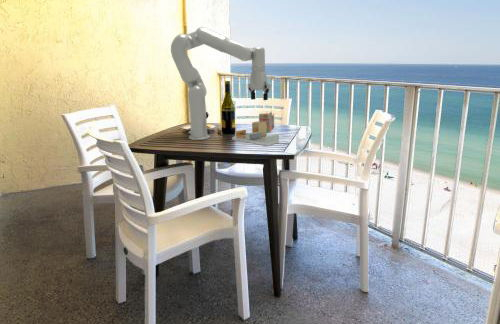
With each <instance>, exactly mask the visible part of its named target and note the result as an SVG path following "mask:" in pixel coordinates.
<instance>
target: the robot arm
mask: <svg viewBox="0 0 500 324" xmlns="http://www.w3.org/2000/svg"><path fill="white" fill-rule="evenodd" d="M170 45H171V46H170V53H171V57H172V59H173V62H174V65H175V67H176V69H177V71H178V73H179V75H180V79H181V80H182V81H183V82H184V83H185V84H186V85H187V87H188V91H187V92H188V93H187V97H188V107H189V108H188V109H189V121H190V130H189V131H188V132H187V133H188V134H190V135H189V136H188V140H192V141H201V140H202V141H203V140H208V139H210V138H211V135H209V134H208V127H207V126H208V123H207V122H208V121H207V106H206V95H207V93H208V92H207V88H206V85H205V84H204V83H205V82H204V80H203V79H202V77H201V74H200V73H199V70H198V69H197V68H195V67H194V66H193V64H192V62H191V59H190V57H189V55H188V53H187V51H189V50H192V49H196V48H198V47H201V46H203V45H205V46H207V47H209V48H211V49H215V50H216V51H219V52H220V53H224V54H227V55H228V56H231V57H234V58H236V59H238V60H240V61H243V62H247V61H251V68H250V70H251V72H250V77H249V83H248V84H247V88H248V90H249V93H250V100H251V101H252V100H256V91H262V92H263V93H262V97H263V101H268V96H269V95H268V94H269V93H270V90H271V87H272V85H271V84H270V83H268V76H267V72H266V53H265V52H266V50H265V49H266V48H264V47H262V46H260V47H259V46H256V47H247V46H246V45H243V44H240V43H238V42H236V41H235V40H232V39H230V38H229V37H227V36H225V35H222V34H220V33H218V32H215V31H214V30H212V29H209V28H207V27H205V26H200V27H198V28H197V29H196V30H195V31H193V32H190V33H187V34H185V33H179V34H177V35H176V36H175V37H174V39H172V42H171V44H170Z"/></svg>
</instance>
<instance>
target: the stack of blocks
mask: <svg viewBox="0 0 500 324" xmlns="http://www.w3.org/2000/svg"><path fill="white" fill-rule="evenodd" d="M272 112H273V111H272V110H271V111H270V110H267V111H266V110H264V111H261V112H259V114H258V117H259V118H258V121H264V122H266V134H269V133H271V131H272V130H273V129H274V128H275V114H274V113H272Z"/></svg>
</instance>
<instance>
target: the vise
mask: <svg viewBox="0 0 500 324" xmlns="http://www.w3.org/2000/svg"><path fill="white" fill-rule="evenodd" d="M231 139H232V141H237V142H243V143H248V144H256V145H260V146H266V147H268V146H272V145H276V144H279V143H280V134H272V135H266V137H260V138H255V139H251V140H249V139H247V135H244V136H239V137H236V135H234V136H232V137H231Z"/></svg>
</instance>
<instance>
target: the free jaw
mask: <svg viewBox="0 0 500 324" xmlns="http://www.w3.org/2000/svg"><path fill="white" fill-rule="evenodd" d="M244 135H247V139H249V140H251V139H255V138H260V137H262V132H260V131H258V132H253V133H252V132H247V130H246V129H242V130H236V131H235V136H236V137H239V136H244Z"/></svg>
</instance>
